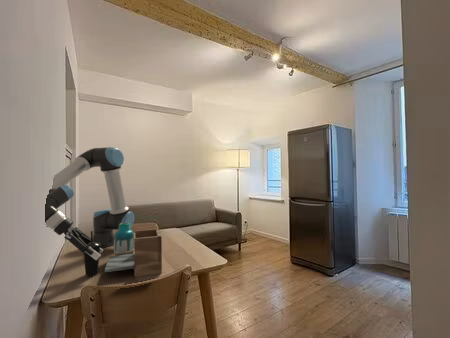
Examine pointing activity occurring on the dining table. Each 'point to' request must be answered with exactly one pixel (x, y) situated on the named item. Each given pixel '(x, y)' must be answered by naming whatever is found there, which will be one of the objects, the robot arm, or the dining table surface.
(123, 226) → the vase
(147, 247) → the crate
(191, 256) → the dining table surface
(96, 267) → the drinking cup
